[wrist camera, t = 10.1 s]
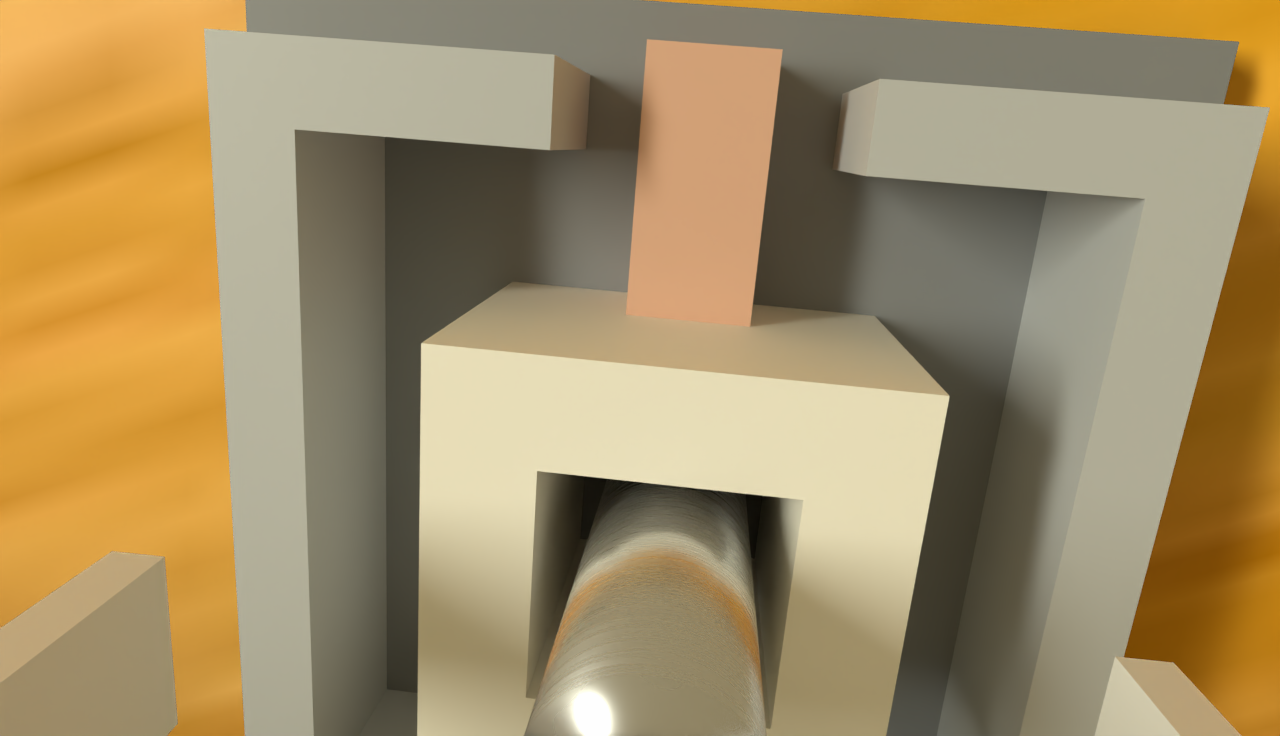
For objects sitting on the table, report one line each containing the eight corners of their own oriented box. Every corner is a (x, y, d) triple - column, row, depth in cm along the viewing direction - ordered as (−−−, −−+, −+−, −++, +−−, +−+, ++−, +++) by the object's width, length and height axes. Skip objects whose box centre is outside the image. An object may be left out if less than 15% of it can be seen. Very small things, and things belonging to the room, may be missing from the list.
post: (610, 519, 20) (511, 871, 10) (619, 400, 19) (521, 660, 9) (735, 533, 20) (755, 905, 10) (750, 413, 19) (786, 692, 9)
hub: (824, 638, 20) (867, 836, 14) (500, 599, 21) (417, 775, 15) (912, 72, 17) (1017, 35, 11) (521, 43, 17) (424, -9, 11)
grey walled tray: (301, 739, 24) (190, 898, 19) (273, -17, 19) (110, -77, 14) (1014, 833, 23) (1100, 1029, 18) (1204, 48, 17) (1403, 8, 12)
